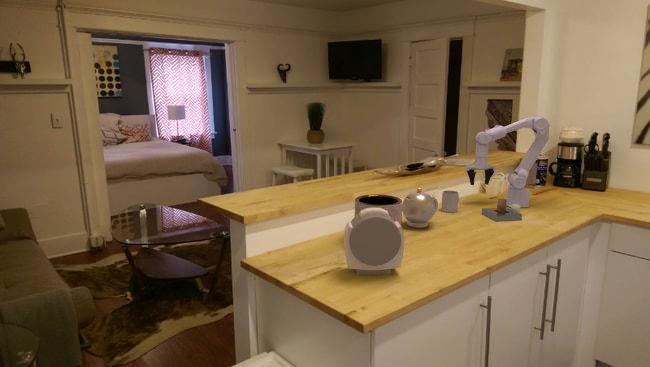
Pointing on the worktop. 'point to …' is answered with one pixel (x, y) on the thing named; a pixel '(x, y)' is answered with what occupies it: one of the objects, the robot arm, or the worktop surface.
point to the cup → (450, 201)
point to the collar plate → (501, 214)
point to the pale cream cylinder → (515, 208)
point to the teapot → (419, 208)
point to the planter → (381, 205)
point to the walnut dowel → (501, 205)
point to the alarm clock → (373, 242)
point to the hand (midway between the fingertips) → (479, 184)
